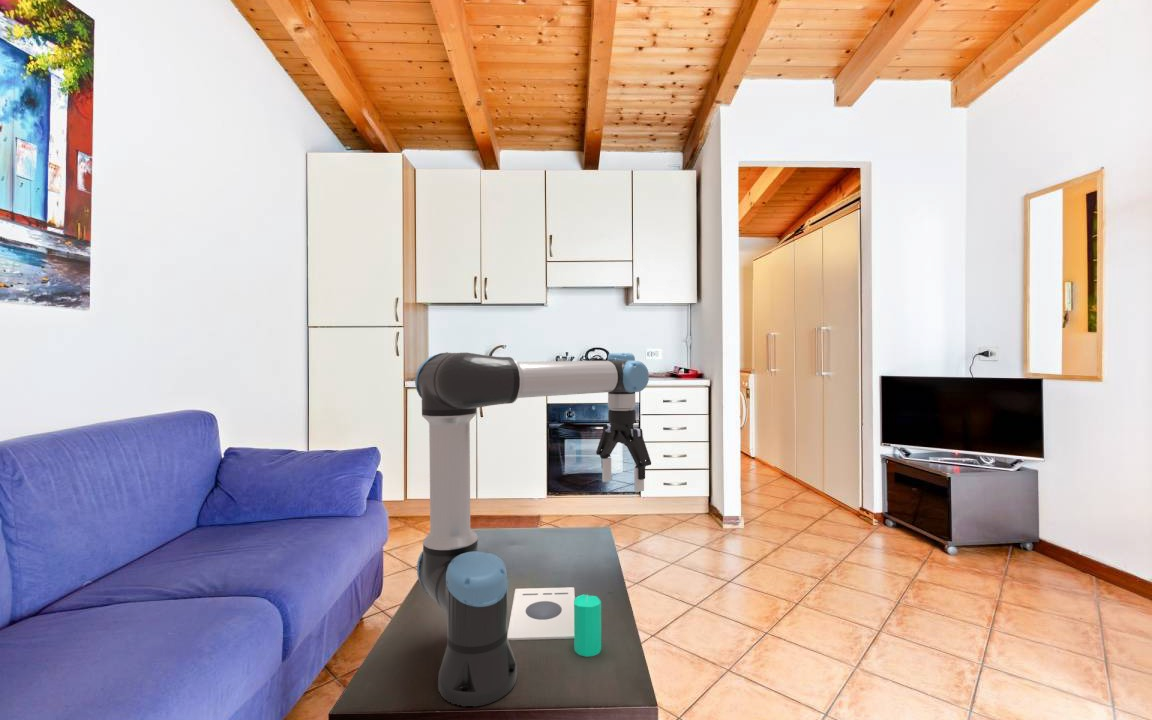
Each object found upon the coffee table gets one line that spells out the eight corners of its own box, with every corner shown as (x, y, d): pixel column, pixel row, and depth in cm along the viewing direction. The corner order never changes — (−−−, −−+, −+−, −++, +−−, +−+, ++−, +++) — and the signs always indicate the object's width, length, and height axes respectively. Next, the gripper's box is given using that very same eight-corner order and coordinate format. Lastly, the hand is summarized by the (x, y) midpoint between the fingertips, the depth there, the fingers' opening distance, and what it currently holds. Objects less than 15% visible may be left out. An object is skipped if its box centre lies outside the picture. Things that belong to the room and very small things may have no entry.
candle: (599, 658, 105) (598, 601, 105) (571, 655, 107) (571, 598, 107) (603, 642, 111) (603, 588, 111) (577, 639, 112) (576, 586, 112)
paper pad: (577, 638, 113) (577, 635, 113) (506, 640, 112) (506, 637, 112) (574, 589, 137) (574, 587, 137) (515, 590, 136) (515, 588, 136)
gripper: (664, 411, 129) (664, 493, 130) (604, 404, 150) (604, 475, 150) (643, 413, 125) (643, 498, 125) (584, 406, 145) (584, 479, 145)
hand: (622, 486), depth 137 cm, fingers open, 13 cm apart
